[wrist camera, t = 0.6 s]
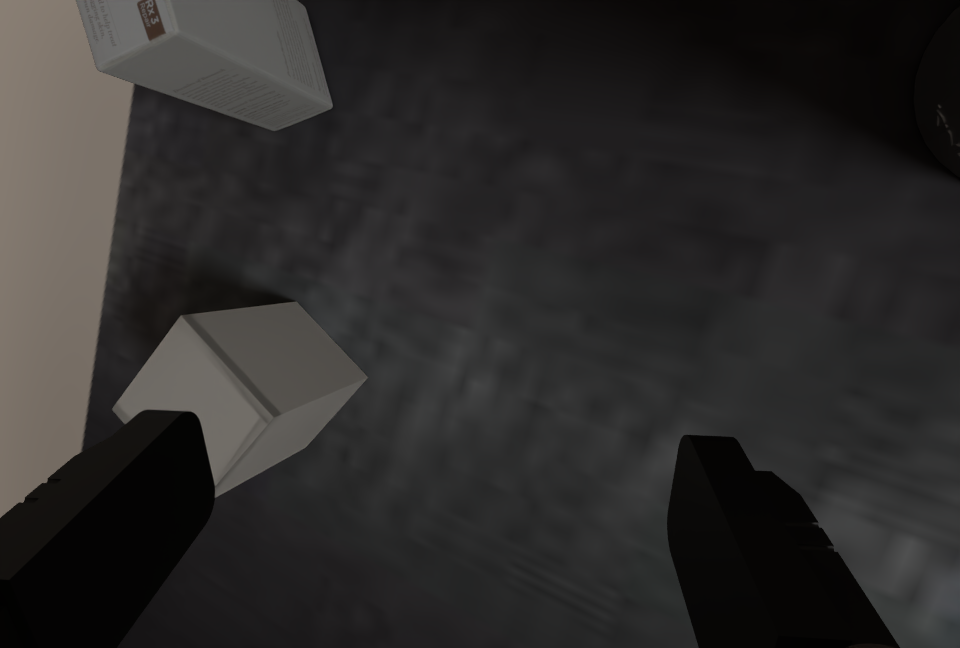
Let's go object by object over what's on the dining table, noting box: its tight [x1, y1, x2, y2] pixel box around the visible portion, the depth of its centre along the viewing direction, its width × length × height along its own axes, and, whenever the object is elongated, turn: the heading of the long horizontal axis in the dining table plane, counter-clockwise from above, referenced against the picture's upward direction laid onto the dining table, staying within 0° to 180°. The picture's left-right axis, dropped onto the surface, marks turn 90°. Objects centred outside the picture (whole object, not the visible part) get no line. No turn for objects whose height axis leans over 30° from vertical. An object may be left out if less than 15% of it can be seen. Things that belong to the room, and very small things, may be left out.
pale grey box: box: [112, 302, 368, 498], centre depth 31 cm, size 6×6×9 cm
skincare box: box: [76, 0, 333, 131], centre depth 27 cm, size 6×4×12 cm
